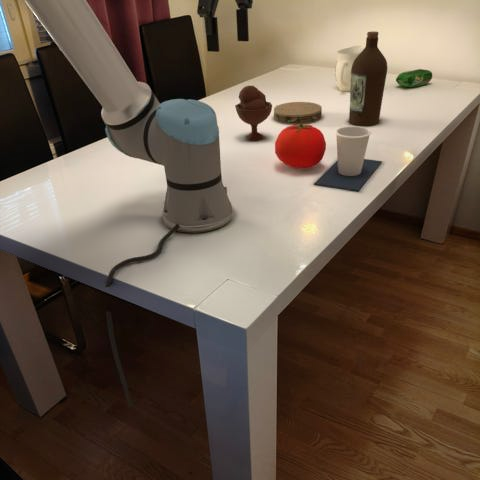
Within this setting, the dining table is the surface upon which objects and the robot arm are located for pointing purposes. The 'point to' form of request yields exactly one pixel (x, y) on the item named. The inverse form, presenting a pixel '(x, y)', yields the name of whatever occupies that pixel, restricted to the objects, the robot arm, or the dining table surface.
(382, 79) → the olive oil
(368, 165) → the placemat
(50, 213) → the dining table surface
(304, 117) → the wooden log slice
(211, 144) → the robot arm
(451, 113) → the dining table surface
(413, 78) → the snack package
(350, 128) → the dixie cup
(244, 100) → the ice cream bowl
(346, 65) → the pitcher
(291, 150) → the tomato
